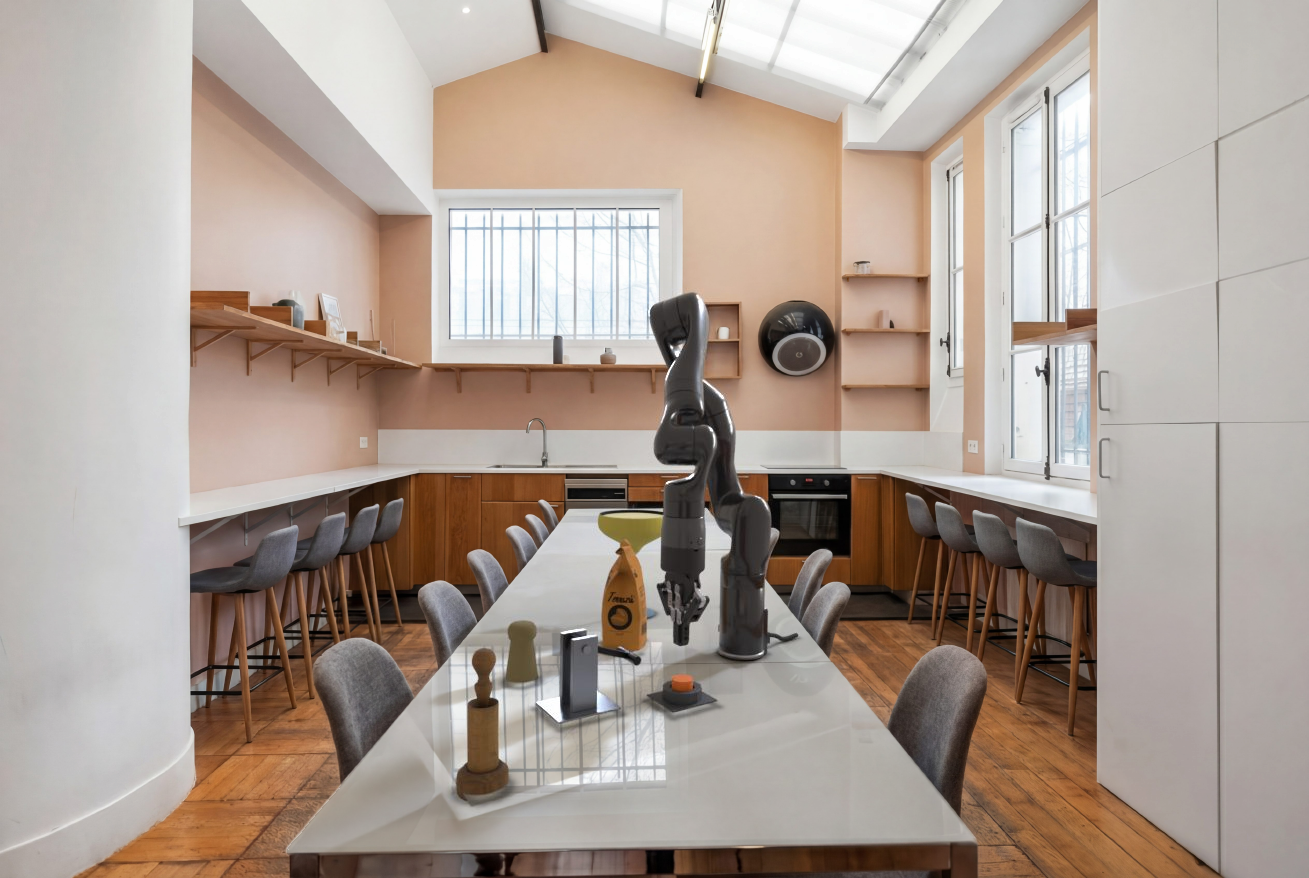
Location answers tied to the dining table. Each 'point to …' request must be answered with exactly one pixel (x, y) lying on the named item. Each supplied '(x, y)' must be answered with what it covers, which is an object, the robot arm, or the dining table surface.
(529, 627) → the cork
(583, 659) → the lever stand
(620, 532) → the cocktail glass
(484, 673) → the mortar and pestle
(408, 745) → the dining table surface
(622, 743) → the dining table surface
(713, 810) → the dining table surface
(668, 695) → the control block
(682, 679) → the button
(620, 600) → the coffee package
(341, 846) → the dining table surface
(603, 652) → the black t-handle
